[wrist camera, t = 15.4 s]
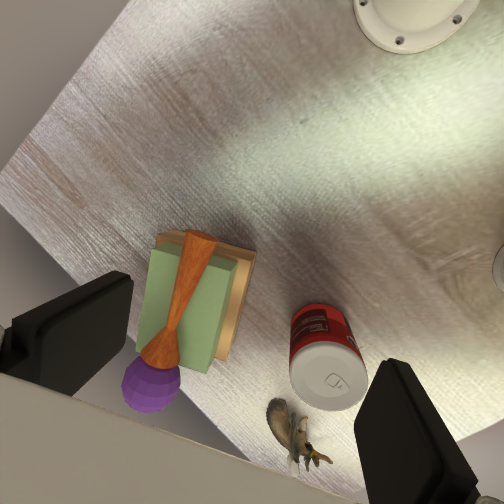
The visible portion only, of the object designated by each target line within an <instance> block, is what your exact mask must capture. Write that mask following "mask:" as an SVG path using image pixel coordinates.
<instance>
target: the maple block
mask: <svg viewBox="0 0 504 504" xmlns="http://www.w3.org/2000/svg"><path fill="white" fill-rule="evenodd" d="M184 237H185V232H182V231H179V230H175V229H173V230H170V231H167V232H164V233H161V234H158V235H157V239H156V245H155V247H157V246H159V245H162V244H164V243H167V242H170V243H173V244H177V245H180V246H183V242H184ZM212 255H215V256H219V257H222V258H226V259H229V260H233V261H236V262H238V265H237V269H236V274H235V278H234V282H233V286H232V290H231V294H230V298H229V302H228V306H227V310H226V314H225V318H224V322H223V327H222V331H221V335H220V339H219V343H218V347H217V351H216V355H215V357H214V358H217V359H220V360H223V361H226V360H227V357H228V355H229V352H230V350H231V347H232V345H233V342H234V339H235V335H236V331H237V328H238V324H239V320H240V316H241V312H242V308H243V305H244V301H245V297H246V293H247V289H248V285H249V282H250V278H251V274H252V270H253V266H254V262H255V259H256V255H257V252H254V251H250V250H247V249H243V248H240V247H236V246H232V245H229V244H225V243H222V242H218V244H217V246H216V248H215V250H214V252H213V254H212Z"/></svg>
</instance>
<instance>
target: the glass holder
mask: <svg viewBox="0 0 504 504" xmlns="http://www.w3.org/2000/svg"><path fill="white" fill-rule="evenodd" d="M493 277H494V280H495V283H496V284H497V286H498V287H499V289H500V290H501V291H502V292H503V293H504V246H503V247H502V248H501V249H500V251H499V252H498V254H497V256H496V258H495V260H494V264H493Z"/></svg>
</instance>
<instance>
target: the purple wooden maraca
mask: <svg viewBox="0 0 504 504" xmlns="http://www.w3.org/2000/svg"><path fill="white" fill-rule="evenodd" d="M218 242H219V241H218V239H216V238H215V237H213V236H211V235H209V234H206V233H204V232H200V231H197V230H193V229H186V232H185V237H184V242H183V246H182V251H181V256H180V260H179V265H178V270H177V275H176V279H175V284H174V289H173V294H172V298H171V303H170V308H169V313H168V317H167V322H166V326H165V327H164V328H163V329H162V330H161V331H160V332H159V333H158V334H157V335H156V336H155V337H154V338H153V339H152V340H151V341H150V342H149V343H148V344H147V345H146V346H145V347H144V348H143V349H142V350H141V354H140V355H141V356H139V357H137V358H136V359H135V360H134V361H133V362H132V363H131V364H130V365H129V367H128V368H127V369H126V372H125V375H124V378H123V381H122V385H121V387H122V392H123V396H124V399H125V402H126V403H127V404H128V405H129V406H130V407H131V408H133V409H135V410H137V411H139V412H144V413H151V412H156V411H160V410H161V409H163V408H164V407H166V406H167V405H168V404H169V403H170V402H171V401H172V400H173V399H174V397H175V396H176V394H177V392H178V389H179V387H180V369H179V367H178V364H179V362H180V351H179V345H178V338H177V331H176V327H177V325H178V323H179V321H180V319H181V317H182V315H183V313H184V311H185V309H186V307H187V305H188V303H189V301H190V299H191V297H192V295H193V293H194V291H195V289H196V287H197V285H198V283H199V280H200V278H201V276H202V274H203V272H204V270H205V268H206V266H207V264H208V262H209V260H210V258H211V256H212V254H213V252H214V250H215V248H216V246H217V244H218Z"/></svg>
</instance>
